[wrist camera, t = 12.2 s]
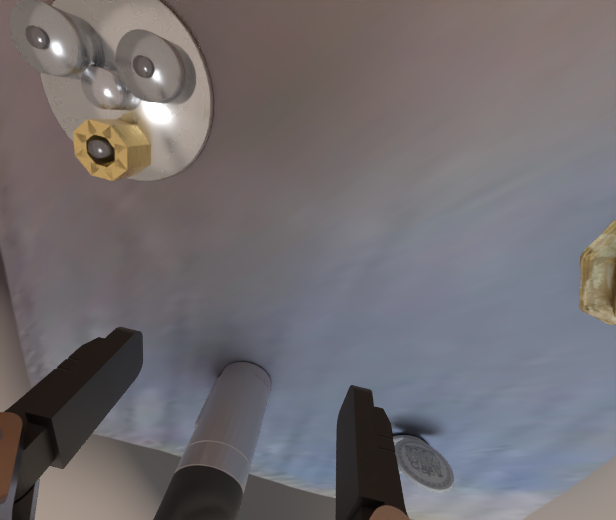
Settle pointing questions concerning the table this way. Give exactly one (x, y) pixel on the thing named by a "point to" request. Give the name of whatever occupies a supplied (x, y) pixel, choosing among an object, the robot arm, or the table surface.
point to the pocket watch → (423, 464)
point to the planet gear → (127, 145)
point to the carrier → (121, 73)
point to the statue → (600, 277)
